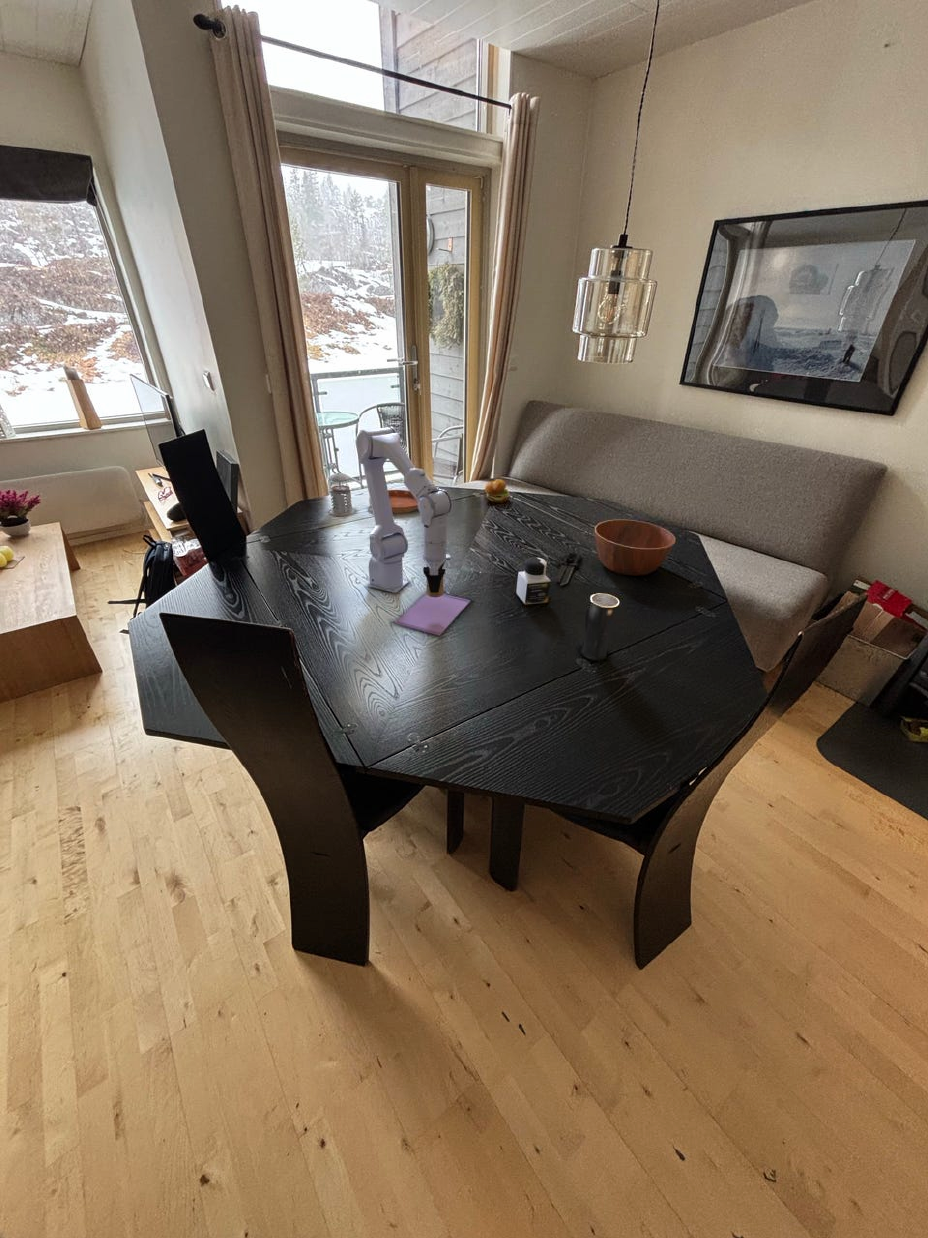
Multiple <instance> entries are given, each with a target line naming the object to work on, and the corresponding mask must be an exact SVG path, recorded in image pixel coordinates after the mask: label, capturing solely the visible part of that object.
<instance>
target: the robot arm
mask: <svg viewBox="0 0 928 1238" xmlns="http://www.w3.org/2000/svg"><path fill="white" fill-rule="evenodd" d="M354 442H355V447H356V452H357V457H358V461H359V463H360V465H362V467H363V468H362V469H363V473H364V477H365V481H366V482H365V483H366V486H367V491H368V495H369V497H370V500H371V504H370V506H371V509H372V515H373V518H374V523H375V527H374V528H373V529H372V531H371V532H370V533H369V535H368V537H369V552H370V554H371V557H370V559H369V561H368V578H369V580H368V581H369V583H368V584H367V585H368V587H370V588H374V589H377V590H381V591H385V592H389V593H392V594H396V593H398V592H399V591H401V590H402V589H403V588H404V587H405V586H407V585H408V584H409V583H410V582H409V580H408V579H404V571H403V558H404V557H405V554H406V553H407V552H408V551H409V540H408V538H407V536H406V535H405V531H404V528H403V527H402V526H400V525H398V524H397V523H396V522H395V519H394V513H392V508H391V503H390V498H389V494H388V490H389V489H388V484H387V480H386V474H385V471H384V465H385V463H386V462H387V460H389V462H391V464H392V465H393V466H394V468H396V469H397V470H398V472H399V473H400V474H402V476H403V477H404V480H403V483H404V486H405V487H406V489H408V491H410V492H411V493H412V495H413V496H414V497H415V499H416V500H417V501H418V509H417V510H418V512H419V515H420V521H421V523H422V524H423V525H422V529H423V530H422V534H423V538H422V539H423V554H422V560H423V561H424V563H425V565H426V566H423V569H422V572H423V574H424V576H425V577H426V581H427V580H428V584H429V589H430V592H431V593H438V592H439V589H440V583H441V580H442V577H443V578H444V576H445V574H446V568H444V565H445V563H446V561H450V560H451V554H447V519H448V517H447V516H448V515H447V514H449V513H450V512H451V511H452V508H453V501H452V498H451V496H450V494H449V493H448V491H447V490H446V489H441V487H437V486H436V485H435V484H434V482H433V481H432V480H431V479H430V477H429V476H428V475H427V473H426V472H425V470H424V469H422V468H416V466H415V465H414V463H413V462H412V460H411V459H410V457H409V456H408V454H407V453H406V451H405V450H404V448H403V446H402V445H401V443H402V441H401V435H400V434H398V432H397V430H396V429H395V428H394V427H393V426H391V425H390V426H389V425H388V426H385V427H379V428H371V429H360V430H359V431H358V432H357V435H356V437H355V440H354Z"/></svg>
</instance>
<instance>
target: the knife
mask: <svg viewBox="0 0 928 1238" xmlns="http://www.w3.org/2000/svg"><path fill="white" fill-rule="evenodd" d="M580 560H581V554H580V553H577V552H574V551H568V552H567V553H565V554H564V555H563V559H562V560H558V566H560V567H559V569H558V572H557V574H556V576H555V578H554V580H556V581H557V582H558V583H559V586H563V585H566V584H568V583H569V580H570V578H571V576H572V574H573V571H574V569H579V563H580ZM569 562H571V563H569ZM568 563H569V565H568Z"/></svg>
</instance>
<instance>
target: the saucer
mask: <svg viewBox="0 0 928 1238" xmlns="http://www.w3.org/2000/svg"><path fill="white" fill-rule="evenodd" d="M388 494H389V498H390V503H391V508H392V513H393V514H403V513H404V514H405V513H410V512H411V513H412V512H414V511H417V510H419V509H418V501H417V500H416V499H415V497H414V496H413V495H412V493H411V492H410V491H409V490H405V489H388ZM368 498H369V499H368V502H369V504H370V505H371V500H370V496H369V497H368Z"/></svg>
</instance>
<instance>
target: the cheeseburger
mask: <svg viewBox="0 0 928 1238" xmlns="http://www.w3.org/2000/svg"><path fill="white" fill-rule="evenodd" d="M484 492H485V494H486V497H487V499H488V500H489V501H490V502H492V503H499V504H501V503H502V504H503V503H505V502H507V501H508V500H510V491H509V490H508V489H507V483H506V482H505V480H504V479H501V478H498V479H497V478H496V479H493V480H492V481H489V482H488V483H486V484H485V487H484Z"/></svg>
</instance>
